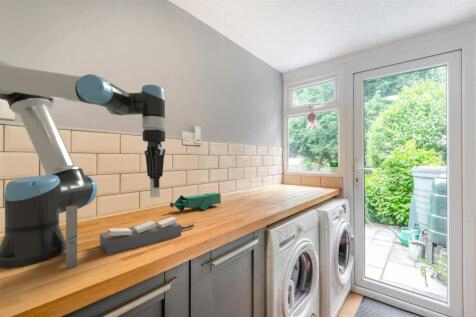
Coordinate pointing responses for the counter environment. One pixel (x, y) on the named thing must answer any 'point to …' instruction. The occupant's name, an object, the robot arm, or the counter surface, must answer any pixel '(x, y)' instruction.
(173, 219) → the rocker right
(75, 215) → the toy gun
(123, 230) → the rocker left
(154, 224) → the rocker mid
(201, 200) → the toy
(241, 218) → the counter surface
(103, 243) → the strip
